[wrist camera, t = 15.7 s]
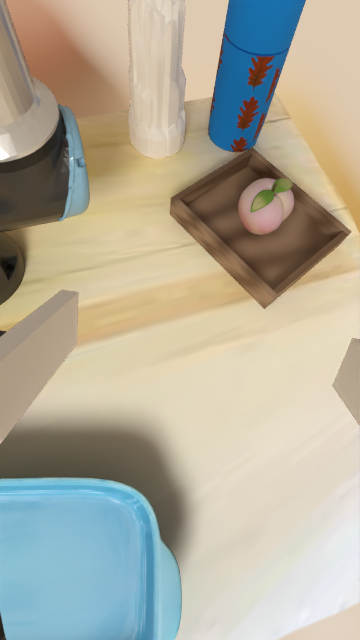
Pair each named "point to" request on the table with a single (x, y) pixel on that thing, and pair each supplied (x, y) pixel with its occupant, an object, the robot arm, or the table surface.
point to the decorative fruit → (265, 205)
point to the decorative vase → (156, 76)
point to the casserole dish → (84, 562)
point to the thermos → (250, 68)
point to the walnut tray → (251, 249)
